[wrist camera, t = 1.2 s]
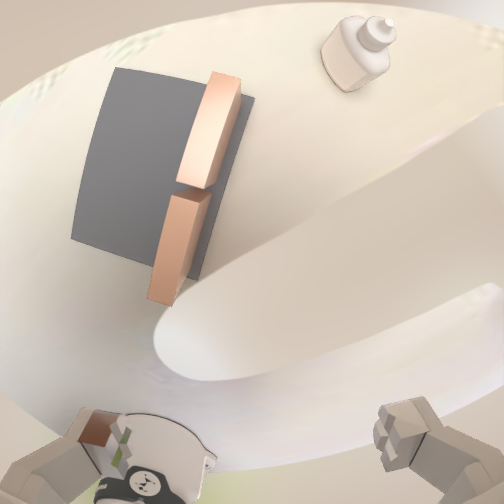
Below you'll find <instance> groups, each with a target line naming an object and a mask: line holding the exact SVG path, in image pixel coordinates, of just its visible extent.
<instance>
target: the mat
mask: <svg viewBox="0 0 504 504" xmlns="http://www.w3.org/2000/svg"><path fill="white" fill-rule="evenodd" d="M206 87H207V85H206V84H202V83H198V82H194V81H189V80H185V79H180V78H175V77H170V76H165V75H160V74H155V73H149V72H144V71H137V70H131V69H124V68H117V67H115V70H114V72H113V75H112V77H111V80H110V83H109V86H108V88H107V91H106V94H105V97H104V100H103V103H102V106H101V109H100V112H99V115H98V119H97V122H96V125H95V129H94V132H93V136H92V139H91V143H90V147H89V150H88V154H87V158H86V162H85V166H84V171H83V175H82V180H81V184H80V189H79V194H78V199H77V204H76V210H75V216H74V222H73V228H72V235H71V239H73V240H76V241H78V242H81V243H84V244H87V245H90V246H93V247H96V248H98V249H101V250H104V251H107V252H110V253H113V254H116V255H119V256H122V257H125V258H128V259H131V260H134V261H137V262H140V263H143V264H146V265H149V266H152V267H154V263H155V259H156V254H157V250H158V246H159V242H160V238H161V234H162V230H163V226H164V222H165V218H166V214H167V210H168V207H169V203H170V199H171V196H172V195H173V194H175V193H178V192H180V191H183V190H186V189H188V188H191V187H195V186H192V185H188V184H185V183H181V182H178V181H176V178H177V175H178V171H179V168H180V165H181V161H182V158H183V155H184V152H185V149H186V145H187V142H188V139H189V136H190V133H191V130H192V127H193V124H194V121H195V118H196V115H197V112H198V109H199V106H200V104H201V101H202V98H203V95H204V92H205V90H206ZM254 100H255V98H253V97H250V96H247V95H243V94H241V102H242V104H241V107H240V110H239V113H238V116H237V119H236V122H235V125H234V128H233V131H232V134H231V137H230V140H229V143H228V146H227V149H226V152H225V155H224V158H223V161H222V164H221V167H220V170H219V173H218V177H217V180H216V183H214V184H212V185H210V186H208V187H207V188H205V189H202V188H199V189H202V190H206V191H209V192H212V196H211V199H210V202H209V206H208V209H207V212H206V216H205V219H204V223H203V226H202V229H201V233H200V236H199V240H198V243H197V247H196V250H195V254H194V258H193V261H192V265H191V269H190V271H189V273H188V275H187V278H190V279H194V280H198V277H199V273H200V270H201V266H202V263H203V259H204V256H205V252H206V249H207V246H208V242H209V239H210V235H211V232H212V229H213V225H214V222H215V219H216V215H217V212H218V209H219V206H220V202H221V199H222V196H223V193H224V190H225V186H226V183H227V180H228V177H229V174H230V171H231V168H232V165H233V162H234V158H235V155H236V152H237V149H238V146H239V143H240V140H241V137H242V134H243V131H244V128H245V126H246V123H247V120H248V117H249V114H250V111H251V108H252V105H253V102H254ZM195 188H198V187H195Z"/></svg>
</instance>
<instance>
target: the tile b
mask: <svg viewBox="0 0 504 504" xmlns="http://www.w3.org/2000/svg"><path fill="white" fill-rule="evenodd" d="M241 104H242V102H241V79H240V78H236V77H233V76H229V75H225V74H221V73H217V72H213V71H212V74H211V76H210V79H209V82H208V84H207V87H206V90H205V92H204V95H203V98H202V101H201V104H200V106H199V109H198V112H197V115H196V118H195V121H194V124H193V127H192V130H191V133H190V136H189V139H188V142H187V145H186V149H185V152H184V155H183V158H182V161H181V165H180V168H179V171H178V175H177V178H176V181H178V182H181V183H185V184H188V185H192V186H195V187H198V188H202V189H205V188H207V187H208V186H210V185H212V184H214V183H216V180H217V177H218V173H219V170H220V167H221V164H222V161H223V158H224V155H225V152H226V149H227V146H228V143H229V140H230V137H231V134H232V131H233V128H234V125H235V122H236V119H237V116H238V113H239V110H240V107H241Z"/></svg>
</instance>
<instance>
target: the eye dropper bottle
mask: <svg viewBox="0 0 504 504" xmlns="http://www.w3.org/2000/svg"><path fill="white" fill-rule="evenodd" d="M395 38H396V31H395V28H394V22H393V21H392V20H391V19H389V18H386V19H385V18H383V17H379V16H373V17H370V18H369V19H368V20H366V19H365V18H363V17H361V16H351V17H347V18H344V19H343V20H341V21H340V22H339V23H338V25H337V26H336V27H335V29H334V30H333V31H332V33H331V34H330V36H329V37H328V38H327V40H326V41H325V43H324V44H323V46H322V48H321V55H322V60H323V64H324V66H325V69H326V71H327V73H328V74H329V76H330V77H331V79H332V80H333V81H334V82H335V84H336V85H337V86H338V87H339V88H340V89H342V90H343V91H345V92H350V91H353V90H356V89H359V88H361V87H363V86H364V85H366V84H367V83H369V82H371V81H372V80H374V79H375V78H377V77H379V76H380V75H382V74H383V73H385V72H386V71H387V70H388V69H389V67H390V56H389V51H388V47H387V46H388V45H389V44H391V43H392V42H393V41H394V40H395Z"/></svg>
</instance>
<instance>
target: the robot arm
mask: <svg viewBox="0 0 504 504" xmlns="http://www.w3.org/2000/svg"><path fill="white" fill-rule="evenodd" d="M378 415H379V417H380V419H379V420H378V421H377V422H376V423H375V426H374V429H373V437H374V442H375V445H376V448H377V449H379V450H380V451H382V452H383V453H382V455H381V461H382V463H383V466H384V469H385V471H386V472H390V471H394V470H398V469H402V468H406V467H409V468H410V469H411V470H413V471H414V472H416V473H417V474H418V475H419V476H421V477H422V478H424V479H425V480H426V481H428V482H429V483H430V484H432V485H433V486H434V487H436V488H437V489H439V490H440V491H441V492H443V493H444V494H445V495H444V497H443V498H442V499H441V500H440V501H439V503H438V504H504V456H503V454H502V453H501V451H500V450H499V449H497V448H494V447H492V446H490V445H488V444H485V443H483V442H481V441H479V440H477V439H474V438H472V437H470V436H468V435H465V434H464V433H462V432H459V431H457V430H455V429H453V428H451V427H449V426H446V427H444V426H443V424H442V423H441V421H440V420H439V418H438V417H437V415H436V414H435V412H434V410H433V409H432V407H431V406H430V404H429V403H428V401H427V400H426V398H425V397H423V396H421V397H417V398H413V399H409V400H404V401H400V402H395V403H391V404H386V405H382V406H381V407H380V408H379V412H378ZM216 463H217V458H216V457H215V456H214V455H213V454H212V453H210V452H208V451H207V450H205V448H204V447H203V446H202V444H201V443H200V441H199V440H198V439H197V438H196V437H195V436H194V435H193V434H192V433H191V432H190V431H188V430H187V429H185V428H184V427H182V426H180V425H178V424H176V423H174V422H172V421H169V420H167V419H163V418H160V417H156V416H151V415H142V414H135V415H128V416H125V415H124V414H119V413H113V412H107V411H102V410H96V409H90V408H85V407H84V408H82V409H81V410H80V411H79V413H78V415H77V417H76V418H75V420H74V422H73V423H72V425H71V427H70V428H69V430H68V432H67V434H66V435H65V437H64V438H59V439H57V440H55V441H53V442H51V443H50V444H48V445H46V446H44V447H42V448H40V449H39V450H37V451H35V452H33V453H31V454H29V455H27V456H25V457H23V458H21V459H19V460H18V461H15V462H14V463H12V464H11V466H10V468H9V469H8V471H7V473H6V474H5V476H4V478H3V479H2V481H1V483H0V504H69V503H70V502H72V501H73V500H74V499H75V498H76V497H78V496H79V495H80V494H81V493H83V492H84V491H85V490H86V489H88V488H89V487H90V486H91V485H93V484H94V483H95V482H96V481H97V480H98V479H100V478H101V481H100V483H99V485H98V487H97V489H96V492H95V498H94V504H194V502H195V500H198V498H200V495H201V490H202V483H203V477H204V476H205V475H206V474H207V473H208V472H209V471H210V470H211V469H212V468H213V467H214V466H215V465H216Z"/></svg>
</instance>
